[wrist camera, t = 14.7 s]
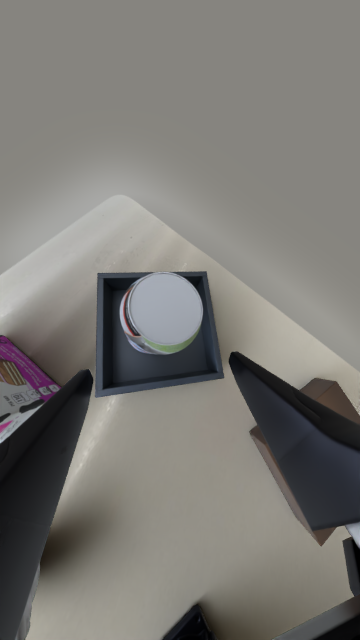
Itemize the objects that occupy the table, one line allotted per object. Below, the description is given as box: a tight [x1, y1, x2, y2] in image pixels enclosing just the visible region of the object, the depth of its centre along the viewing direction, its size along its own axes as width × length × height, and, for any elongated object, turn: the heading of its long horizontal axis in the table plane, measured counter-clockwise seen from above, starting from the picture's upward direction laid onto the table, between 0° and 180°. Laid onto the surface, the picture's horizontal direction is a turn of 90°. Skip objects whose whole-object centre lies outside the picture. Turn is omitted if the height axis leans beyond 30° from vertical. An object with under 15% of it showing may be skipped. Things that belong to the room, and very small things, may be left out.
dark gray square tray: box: [95, 271, 224, 398], centre depth 19 cm, size 14×14×4 cm
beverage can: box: [120, 272, 203, 355], centre depth 15 cm, size 6×7×12 cm
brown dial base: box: [250, 378, 360, 546], centre depth 19 cm, size 14×11×3 cm
